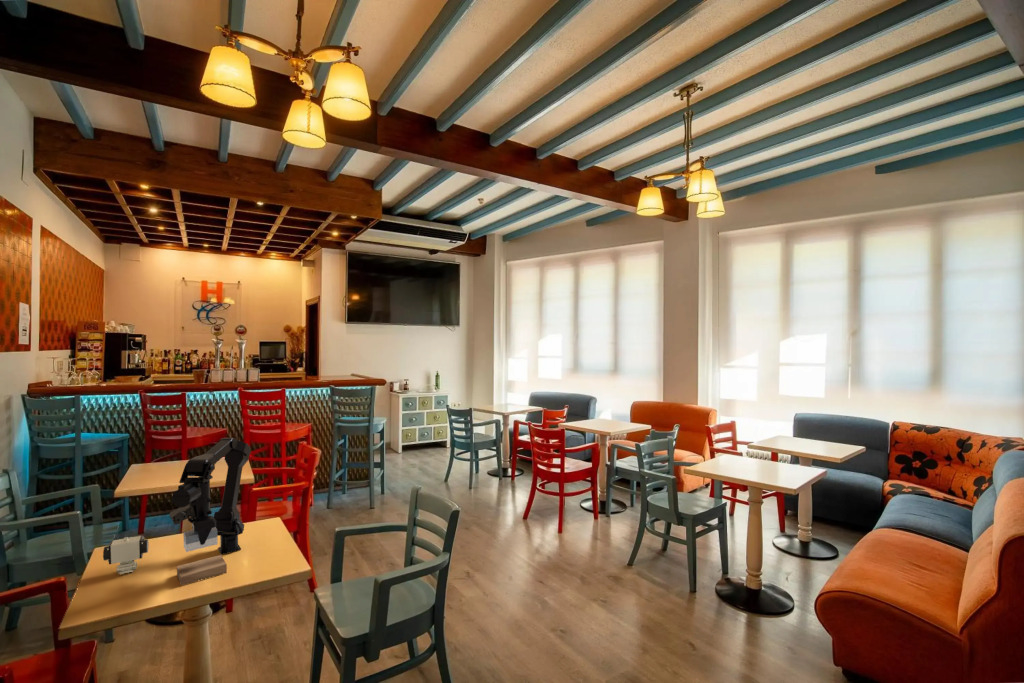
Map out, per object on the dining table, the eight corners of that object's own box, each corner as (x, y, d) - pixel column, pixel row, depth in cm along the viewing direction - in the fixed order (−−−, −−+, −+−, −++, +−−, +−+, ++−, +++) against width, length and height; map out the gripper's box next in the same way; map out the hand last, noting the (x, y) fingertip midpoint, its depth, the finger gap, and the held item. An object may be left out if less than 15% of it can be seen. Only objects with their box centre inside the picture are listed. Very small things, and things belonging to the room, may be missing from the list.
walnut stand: (176, 575, 167) (176, 566, 167) (221, 563, 176) (220, 554, 176) (180, 586, 161) (180, 576, 160) (226, 572, 169) (226, 564, 169)
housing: (214, 539, 173) (214, 524, 172) (217, 544, 169) (217, 529, 169) (183, 546, 167) (183, 532, 167) (186, 552, 163) (185, 537, 163)
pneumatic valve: (147, 570, 170) (146, 536, 170) (103, 579, 164) (102, 543, 164) (149, 564, 175) (148, 530, 174) (106, 572, 169) (106, 537, 168)
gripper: (167, 493, 169) (168, 539, 170) (175, 510, 155) (176, 559, 156) (205, 486, 176) (206, 530, 177) (216, 501, 162) (217, 548, 163)
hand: (201, 541), depth 168 cm, fingers closed on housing, 5 cm apart
